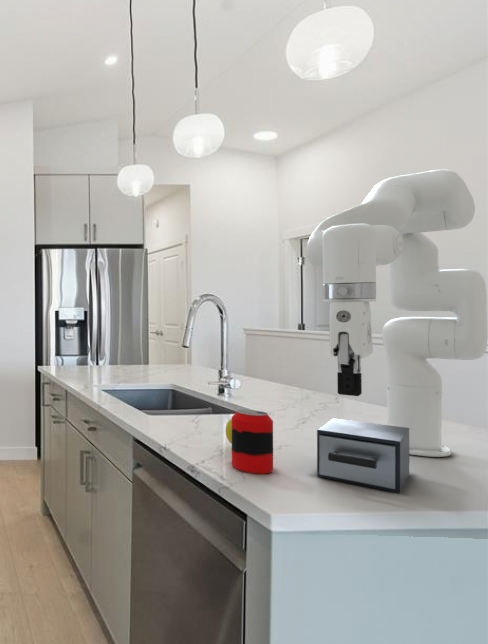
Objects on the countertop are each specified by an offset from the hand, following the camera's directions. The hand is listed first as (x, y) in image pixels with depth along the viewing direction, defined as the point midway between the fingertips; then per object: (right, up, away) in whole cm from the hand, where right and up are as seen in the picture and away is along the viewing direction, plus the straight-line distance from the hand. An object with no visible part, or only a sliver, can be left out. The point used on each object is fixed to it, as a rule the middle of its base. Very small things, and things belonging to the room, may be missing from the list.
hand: (349, 394), depth 91 cm
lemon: (-2, -19, +31) cm, 36 cm away
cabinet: (+12, -18, +11) cm, 24 cm away
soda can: (-8, -19, +16) cm, 26 cm away
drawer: (+9, -18, +8) cm, 21 cm away
